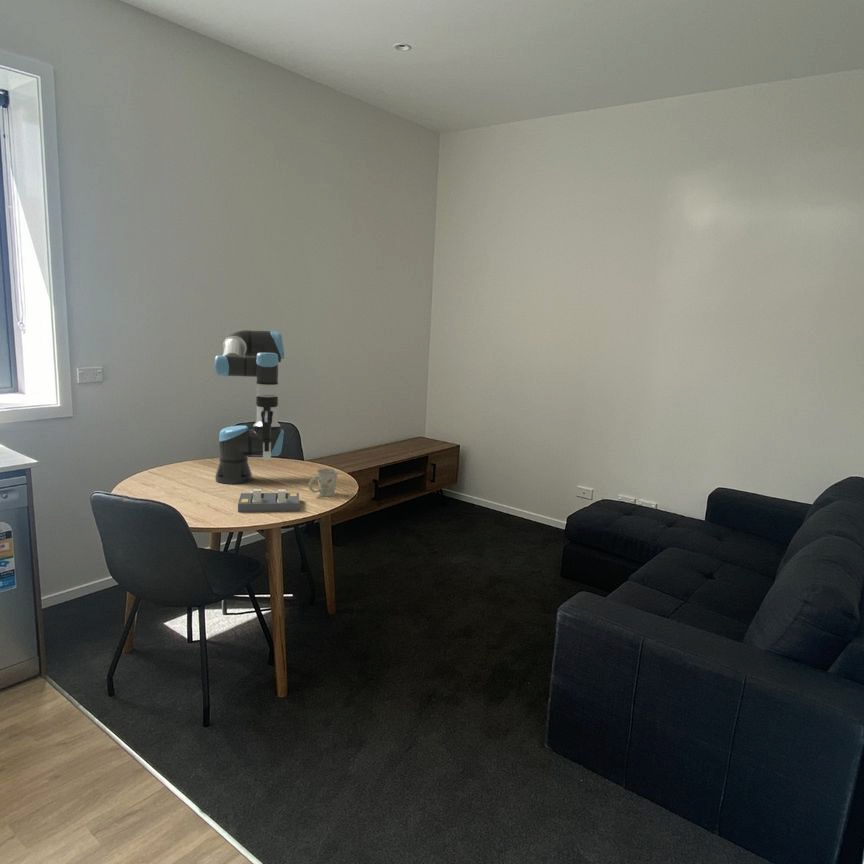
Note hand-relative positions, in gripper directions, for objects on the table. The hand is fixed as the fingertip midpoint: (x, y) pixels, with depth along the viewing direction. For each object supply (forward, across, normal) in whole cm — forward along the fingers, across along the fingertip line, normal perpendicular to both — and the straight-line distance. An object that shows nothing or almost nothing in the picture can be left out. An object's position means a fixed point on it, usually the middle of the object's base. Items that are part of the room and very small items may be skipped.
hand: (266, 459), depth 225 cm
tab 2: (+18, -3, +5) cm, 19 cm away
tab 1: (+18, -4, -4) cm, 19 cm away
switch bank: (+19, -6, +1) cm, 20 cm away
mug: (+19, -20, +21) cm, 35 cm away
